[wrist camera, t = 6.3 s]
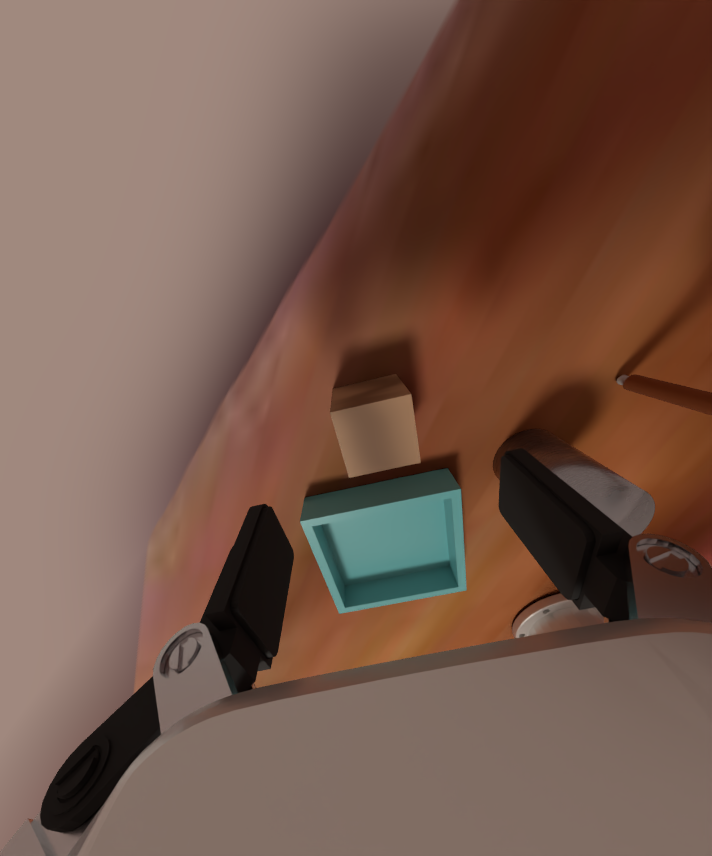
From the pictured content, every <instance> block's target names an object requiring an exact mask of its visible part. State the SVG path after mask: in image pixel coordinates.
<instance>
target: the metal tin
mask: <svg viewBox="0 0 712 856" xmlns="http://www.w3.org/2000/svg"><path fill="white" fill-rule="evenodd" d="M519 448H523V449H525V450H526V451H527V452H528V453H530V454H531V455H532V456H533V457H535V458H536V459H537V460H538V461H539V462H541V463H542V464H543V465H544V466H546V467H547V468H548V469H549V470H551V471H552V472H553V473H554V474H555V475H557V476H558V477H559V478H560V479H562V480H563V481H564V482H566V483H567V484H568V485H569V486H571V487H572V488H573V489H574V490H576V491H577V492H578V493H579V494H580V495H582V496H583V497H584V498H585V499H587V500H588V501H589V502H590V503H592V504H593V505H594V506H595V507H597V508H598V509H599V510H600V511H601V512H603V513H604V514H605V515H606V516H608V517H609V518H610V519H611V520H613V521H614V522H615V523H616V524H618V525H619V526H620V527H621V528H622V529H624V530H625V531H626V532H627V533H629V534H630V535H631V536H632V537H633V536H636V535H639V534H641V533H642V532H643V531H644V530H645V528H646V527H647V526H648V525H649V523H650V521H651V520H652V517H653V515H654V511H655V503H654V500H653V498H652V497H651V495H649V494H648V493H647V492H645V491H644V490H642V489H641V488H639V487H637V486H636V485H634V484H633V483H631V482H629V481H628V480H626V479H624V478H623V477H621V476H620V475H618V474H616V473H615V472H613V471H611V470H610V469H608V468H607V467H605V466H603V465H602V464H600V463H599V462H597V461H595V460H594V459H592V458H590V457H589V456H587V455H586V454H584V453H582V452H581V451H579V450H578V449H576V448H574V447H573V446H571V445H569V444H568V443H566V442H565V441H563V440H561V439H560V438H558V437H557V436H555V435H553V434H552V433H550V432H548V431H546V430H542V429H530V430H525V431H522V432H520V433H517V434H515V435H514V436H512V437H510V438H509V439H508V440H506V441H505V442H504V443H503V444H502V445H501V447H500V448H499V449H498V451H497V453H496V454H495V457H494V461H493V470H494V473H495V475H496V476H497V478H498V479H499V480H500V465H501V457H502V456H504V454H505V452H506V451H510V450H515V449H519Z"/></svg>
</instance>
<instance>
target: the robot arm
mask: <svg viewBox="0 0 712 856" xmlns="http://www.w3.org/2000/svg"><path fill="white" fill-rule="evenodd" d="M499 510H500V512H501V514H502V516H503V517H504V519H505V520H506V521H507V522H508V524H509V525H510V526H511V528H512V529H513V530H514V532H515V533H516V534H517V536H518V537H519V538H520V540H521V541H522V542H523V544H524V545H525V546H526V548H527V549H528V550H529V552H530V553H531V554H532V556H533V557H534V558H535V560H536V561H537V562H538V563H539V565H540V566H541V567H542V569H543V570H544V571H545V573H546V574H547V575H548V577H549V578H550V579H551V581H552V582H553V583H554V585H555V586H556V587H557V589H558V590H559V591H560V593H559V594H556V595H552V596H549V597H547V598H544V599H542V600H539V601H538V602H536V603H534V604H532V605H531V606H529V607H528V608H526V609H525V610H524V611H523V612H522V613H520V614H519V616H518V617H517V618H516V619H515V622H514V624H513V627H512V633H513V636H514V638H515V639H509V640H503V641H498V642H492V643H487V644H481V645H476V646H471V647H465V648H460V649H454V650H449V651H444V652H438V653H433V654H428V655H422V656H417V657H412V658H406V659H401V660H396V661H390V662H385V663H380V664H374V665H369V666H364V667H359V668H354V669H349V670H343V671H338V672H333V673H328V674H323V675H317V676H312V677H307V678H302V679H297V680H293V681H288V682H283V683H279V684H274V685H269V686H265V687H260V688H256V686H255V684H254V682H255V680H256V676H257V671H262V670H267V669H271V664H272V659H273V657H275V656H276V655H277V652H278V648H279V642H280V636H281V630H282V624H283V618H284V613H285V607H286V601H287V595H288V589H289V583H290V577H291V571H292V565H293V559H294V553H293V549H292V547H291V545H290V543H289V541H288V539H287V537H286V535H285V533H284V531H283V529H282V527H281V525H280V523H279V521H278V519H277V517H276V515H275V513H274V511H273V509H272V507H268V506H267V505H266V504H262V505H257V506H252V507H250V509H249V511H248V513H247V515H246V518H245V520H244V522H243V525H242V527H241V530H240V532H239V534H238V537H237V539H236V542H235V544H234V546H233V547H232V549H231V551H230V553H229V555H228V557H227V560H226V562H225V565H224V567H223V569H222V572H221V574H220V576H219V579H218V581H217V583H216V586H215V588H214V590H213V593H212V595H211V598H210V600H209V602H208V605H207V607H206V609H205V612H204V614H203V616H202V619H201V621H200V623H193V624H190V625H188V626H186V627H184V628H183V629H181V630H180V631H178V632H177V633H176V634H175V635H174V636H173V637H172V638H171V639H170V640H169V641H168V642H167V643H166V645H165V646H164V647H163V648H162V650H161V652H160V654H159V655H158V657H157V659H156V662H155V665H154V668H153V677H152V678H150V679H149V680H148V681H147V682H146V683H145V684H144V685H143V686H142V687H141V688H140V689H139V690H138V691H137V692H136V693H135V694H133V695H132V696H131V697H130V698H129V699H128V700H127V701H126V702H125V703H124V704H123V705H122V706H121V707H120V708H119V709H117V710H116V711H115V712H114V713H113V714H112V715H111V716H110V717H109V718H108V719H107V720H106V721H105V722H104V723H103V724H101V726H99V727H98V728H97V729H96V730H95V731H94V732H93V733H92V734H91V735H90V736H89V737H88V738H87V739H86V740H84V742H82V743H81V744H80V745H79V746H78V748H77V749H76V750H75V751H74V752H73V753H72V754H71V755H70V756H69V757H68V759H67V760H66V761H65V763H64V764H63V765H62V767H61V768H60V769H59V771H58V772H57V774H56V776H55V778H54V779H53V781H52V783H51V784H50V786H49V789H48V791H47V793H46V796H45V798H44V800H43V803H42V808H41V811H40V812H39V814H38V815H37V816H36V817H35V819H34V820H32V819H27V820H26V821H25V822H24V824H23V825H22V826H21V827H20V829H19V830H18V831H17V832H16V833H15V834H14V836H13V837H12V839H10V841H9V842H8V843H7V844H6V845H5V847H4V848H3V849H2V850H1V851H0V856H712V567H711V566H710V564H709V563H708V561H707V560H706V559H705V558H704V557H703V556H701V555H700V554H699V553H698V552H696V551H695V550H693V549H692V548H690V547H689V546H687V545H685V544H683V543H681V542H679V541H676V540H674V539H671V538H668V537H665V536H661V535H655V534H639V535H636V536H633V537H632V536H631V535H630V534H629V533H627V532H626V531H625V530H624V529H622V528H621V527H620V526H619V525H618V524H616V523H615V522H614V521H613V520H611V519H610V518H609V517H608V516H606V515H605V514H604V513H603V512H601V511H600V510H599V509H598V508H597V507H595V506H594V505H593V504H592V503H590V502H589V501H588V500H587V499H585V498H584V497H583V496H582V495H580V494H579V493H578V492H577V491H576V490H574V489H573V488H572V487H571V486H569V485H568V484H567V483H566V482H564V481H563V480H562V479H560V478H559V477H558V476H557V475H555V474H554V473H553V472H552V471H551V470H549V469H548V468H547V467H546V466H544V465H543V464H542V463H541V462H539V461H538V460H537V459H536V458H535V457H533V456H532V455H531V454H530V453H528V452H527V451H526V450H525V449H523V448H519V449H515V450H510V451H506V452H505V454H504V456H502V457H501V465H500V489H499Z"/></svg>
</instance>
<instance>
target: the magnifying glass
mask: <svg viewBox="0 0 712 856" xmlns="http://www.w3.org/2000/svg"><path fill="white" fill-rule="evenodd" d="M617 383H618V384H620V385H623V388H624V389H626V390H629V391H633V392H636V393H639V394H643V395H646V396H649V397H653V398H656V399H659V400H663V401H666V402H669V403H672V404H676V405H679V406H682V407H686V408H689V409H692V410H696V411H699V412H702V413H706V414H709V415H712V393H710V392H706V391H702V390H698V389H693V388H689V387H685V386H681V385H677V384H673V383H669V382H664V381H660V380H656V379H652V378H648V377H644V376H640V375H631V376H626V375H622V376H620V377H618V378H617Z"/></svg>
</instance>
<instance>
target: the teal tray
mask: <svg viewBox="0 0 712 856" xmlns="http://www.w3.org/2000/svg"><path fill="white" fill-rule="evenodd" d="M300 523H301V525H302V528H303V530H304V532H305V535H306V537H307V539H308V542H309V544H310V546H311V549H312V551H313V553H314V556H315V558H316V560H317V563H318V565H319V567H320V570H321V572H322V574H323V577H324V579H325V581H326V583H327V586H328V588H329V590H330V593H331V595H332V597H333V600H334V602H335V604H336V607H337V609H338V611H339V614H340V613H346V612H351V611H357V610H362V609H368V608H373V607H378V606H384V605H389V604H395V603H400V602H406V601H411V600H417V599H422V598H427V597H433V596H438V595H444V594H449V593H455V592H460V591H466V590H467V589H466V572H465V554H464V536H463V518H462V500H461V488H460V487H459V485H458V484H457V482H456V480H455V479H454V477H453V476H452V474H451V473H450V471H449V470H448V468H444V469H440V470H435V471H430V472H425V473H420V474H416V475H411V476H406V477H401V478H397V479H392V480H387V481H382V482H377V483H373V484H368V485H363V486H358V487H353V488H349V489H344V490H339V491H334V492H330V493H325V494H320V495H315V496H310V497H306V498H305V499H304V504H303V509H302V514H301V519H300Z"/></svg>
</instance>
